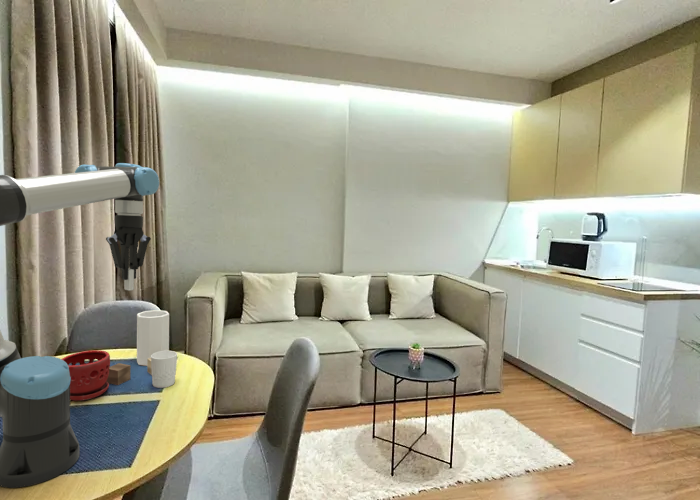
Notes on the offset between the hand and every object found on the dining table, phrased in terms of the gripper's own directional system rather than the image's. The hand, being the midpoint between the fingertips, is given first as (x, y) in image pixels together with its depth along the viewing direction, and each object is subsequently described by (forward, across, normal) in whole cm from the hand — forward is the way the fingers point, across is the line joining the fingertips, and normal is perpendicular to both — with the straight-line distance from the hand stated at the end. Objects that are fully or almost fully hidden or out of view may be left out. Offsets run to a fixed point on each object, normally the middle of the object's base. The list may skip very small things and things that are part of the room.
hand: (128, 289), depth 123 cm
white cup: (+33, -9, +5) cm, 34 cm away
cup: (+33, -18, -16) cm, 41 cm away
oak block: (+33, -13, -5) cm, 35 cm away
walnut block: (+33, -1, -8) cm, 33 cm away
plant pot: (+33, +10, -6) cm, 35 cm away
